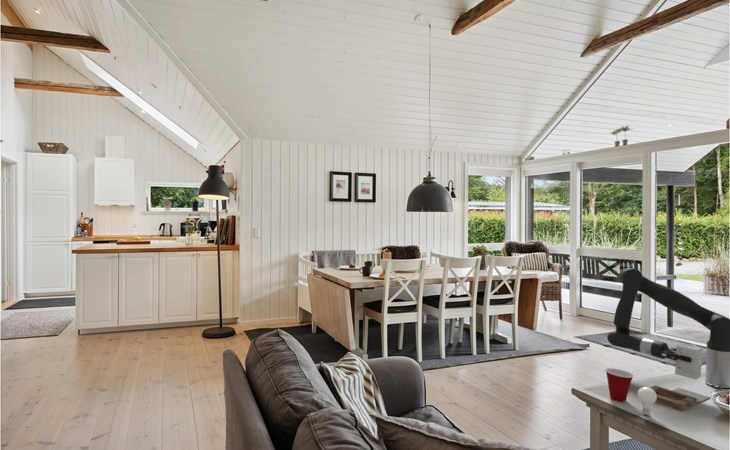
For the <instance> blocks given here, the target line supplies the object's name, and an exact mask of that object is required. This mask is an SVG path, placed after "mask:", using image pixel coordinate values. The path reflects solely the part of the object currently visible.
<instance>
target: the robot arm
mask: <svg viewBox="0 0 730 450" xmlns="http://www.w3.org/2000/svg"><path fill="white" fill-rule="evenodd" d="M618 278H619V281H620V283H621V284H622V289H621V290H622V292H621V296H620V297H619V298H620V299H619V301H618V304H617V306H616V309H615V313H614V319H613V325H614V326H615V330H614V331H611V332H609V333H608V334H607V336H606V337H607V341H608V343H609V344H610V345H612V346H615V347H619V348H622V349H628V350H631V351H634V352H637V353H642V354H644V355H647V356H650V357H654V358H657V359H661V360H665V359H668V360H672V361H675V362H676V361H677V360H679V361H681V360H682V361H685V362H689V363H690V362H691V360H692V358H691V357H687V356H683V355H680V354H676V349H677V347H671V348H669V345H668V344H667V342H663V341H659V340H655V339H652V338H644V337H641V336H635V335H630V324H631V320H632V319H631V318H632V316H633V315H632V314H633V310H634V306H635V302H636V299H637V295H638V292H641V293H642V294H644V295H646V296H647V297H649V298H650V299H652V300H653V301H655V302H657V303H658V304H660V305H662V306H664V307H665V308H667V309H669V310H670V311H673V312H674V313H677V314H680V315H681V316H684V317H687V318H689V319H692V320H694V321H695V322H697V323H699V324H701V325H702V326H703V327H704V328H706V329H708V330H709V331H710V332H709V340H707V342H706V353H705V355H706V357H705V358H706V359H705V360H706V361H705V375H704V376H705V379H704V381H705V382H706V383H709V384H712V385H714V386H718V387H722V388H729V389H730V318H729V317H727V316H725V315H723V314H720V313H718V312H716V311H713V310H710V309H708V308H705V307H703V306H701V305H699V303H698V302H695V301H694V300H693V299H691V298H689V297H688V296H687V295H685V294H683V293H680V292H679V291H677V290H676V289H673V288H670V287H669V286H666V285H663V284H660V283H657V282H654V281H652V280H650V279H649V278H647V277H645V276H644V275H643V274H642V272H641V271H640V270H639V269H637V268H632V267H629V268H627V267H626V268H624V269H622V270H620V271H619V273H618ZM705 382H704V383H705ZM706 383H705V384H706ZM722 388H721V389H722Z"/></svg>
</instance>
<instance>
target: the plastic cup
mask: <svg viewBox="0 0 730 450" xmlns="http://www.w3.org/2000/svg"><path fill="white" fill-rule="evenodd" d="M605 372H606V374H605V375H606V378H607V385H608V387H607V388H608V390H609V391H608V393H609V397H610V399H611V400H612V401H615V402H620V403H625V402H626V401H627V398H628V395H629V390H630V387H631V383H632V381H633V379H634V378H635V374H634V373H631V372H629V371H626V370H622V369H618V368H611V367H609V368H608V367H606V368H605Z"/></svg>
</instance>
